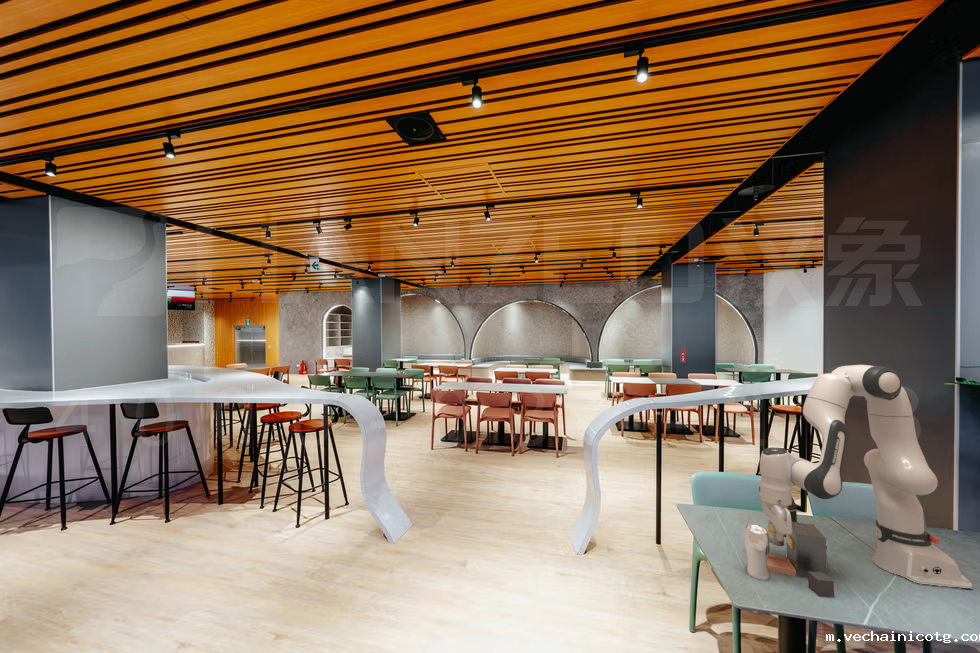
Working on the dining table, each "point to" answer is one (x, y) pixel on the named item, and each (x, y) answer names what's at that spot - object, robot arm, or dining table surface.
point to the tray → (780, 565)
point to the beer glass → (757, 551)
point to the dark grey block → (806, 549)
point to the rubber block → (821, 584)
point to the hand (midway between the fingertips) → (776, 535)
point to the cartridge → (772, 535)
